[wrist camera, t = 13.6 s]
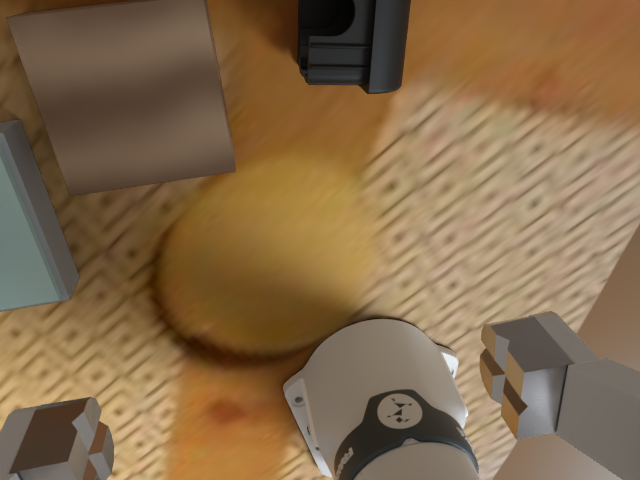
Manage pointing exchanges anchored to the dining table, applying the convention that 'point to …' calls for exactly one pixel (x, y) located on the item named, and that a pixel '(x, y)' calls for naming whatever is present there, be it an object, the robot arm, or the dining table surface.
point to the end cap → (353, 43)
